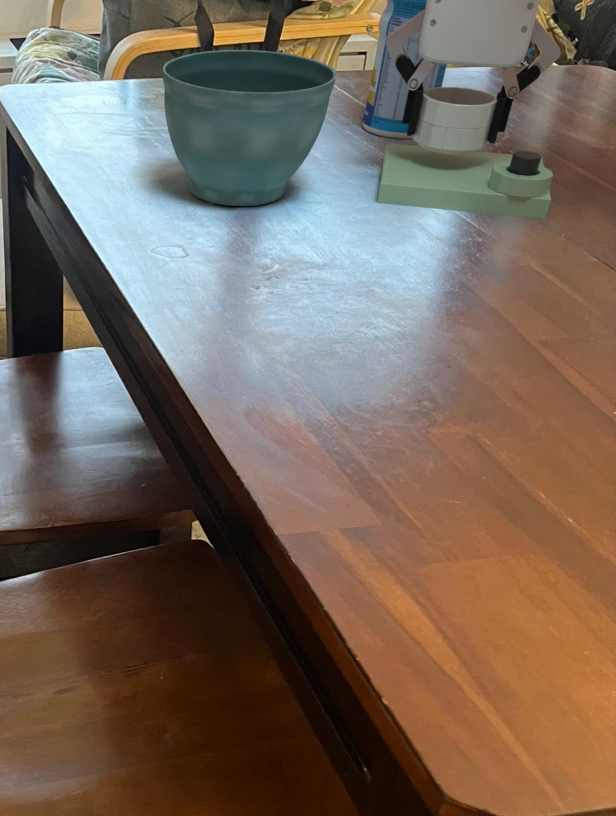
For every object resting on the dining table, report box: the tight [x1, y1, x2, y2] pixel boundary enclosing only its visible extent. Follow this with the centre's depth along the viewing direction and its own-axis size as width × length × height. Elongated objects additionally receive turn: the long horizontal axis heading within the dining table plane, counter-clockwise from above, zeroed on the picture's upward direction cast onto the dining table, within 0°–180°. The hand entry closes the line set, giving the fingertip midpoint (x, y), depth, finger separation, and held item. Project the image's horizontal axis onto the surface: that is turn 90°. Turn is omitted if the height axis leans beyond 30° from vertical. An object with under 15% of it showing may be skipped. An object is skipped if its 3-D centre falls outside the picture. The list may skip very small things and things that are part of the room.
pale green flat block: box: [376, 142, 554, 220], centre depth 106 cm, size 16×14×4 cm
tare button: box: [508, 150, 542, 176], centre depth 101 cm, size 3×3×2 cm
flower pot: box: [162, 49, 338, 207], centre depth 102 cm, size 16×16×11 cm
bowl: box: [412, 86, 498, 155], centre depth 105 cm, size 7×7×4 cm
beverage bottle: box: [362, 0, 448, 140], centre depth 116 cm, size 8×8×20 cm
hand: (450, 134), depth 106 cm, fingers closed on bowl, 7 cm apart
